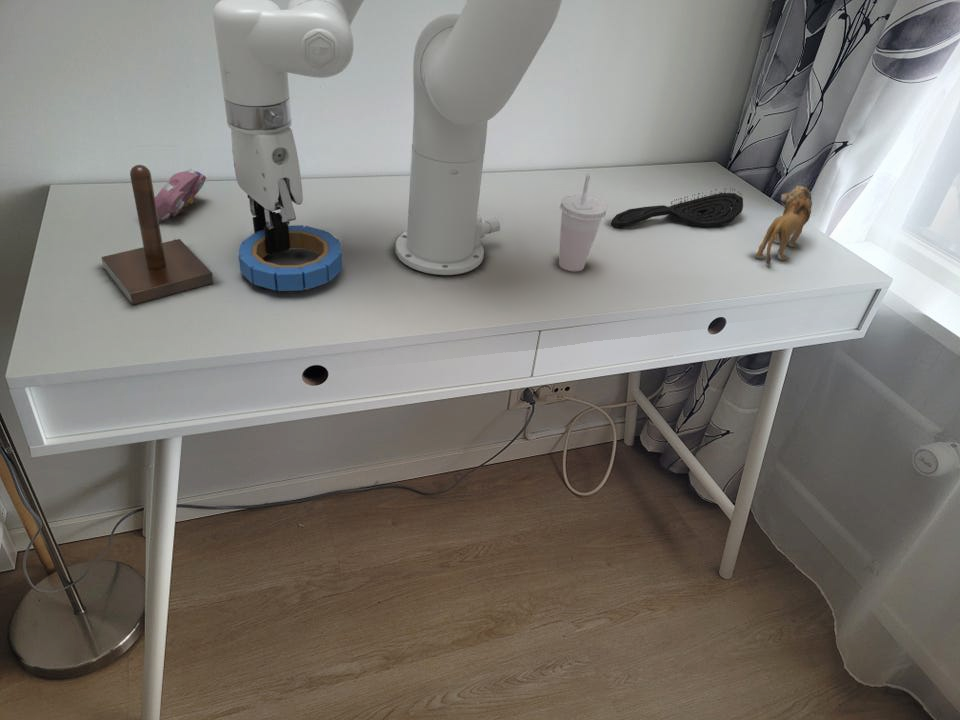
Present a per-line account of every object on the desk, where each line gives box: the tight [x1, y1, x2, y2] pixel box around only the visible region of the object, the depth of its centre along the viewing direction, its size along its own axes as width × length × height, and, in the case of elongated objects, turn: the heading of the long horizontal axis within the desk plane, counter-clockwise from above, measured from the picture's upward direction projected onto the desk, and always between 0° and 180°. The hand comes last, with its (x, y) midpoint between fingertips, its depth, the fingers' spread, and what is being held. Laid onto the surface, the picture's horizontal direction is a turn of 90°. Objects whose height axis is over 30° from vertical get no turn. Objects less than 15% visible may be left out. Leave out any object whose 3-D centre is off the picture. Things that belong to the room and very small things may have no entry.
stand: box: [101, 164, 214, 306], centre depth 90 cm, size 10×10×15 cm
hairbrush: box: [610, 187, 744, 229], centre depth 123 cm, size 8×4×25 cm
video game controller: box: [155, 167, 207, 220], centre depth 107 cm, size 10×5×7 cm, turn 168°
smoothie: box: [558, 174, 607, 272], centre depth 104 cm, size 6×6×14 cm
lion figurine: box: [754, 185, 813, 265], centre depth 117 cm, size 15×5×9 cm, turn 151°
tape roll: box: [238, 224, 343, 292], centre depth 97 cm, size 13×13×2 cm
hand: (272, 245), depth 101 cm, fingers closed on tape roll, 2 cm apart
